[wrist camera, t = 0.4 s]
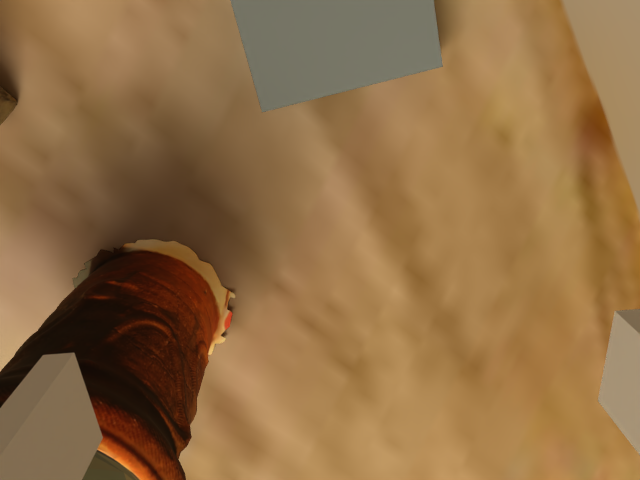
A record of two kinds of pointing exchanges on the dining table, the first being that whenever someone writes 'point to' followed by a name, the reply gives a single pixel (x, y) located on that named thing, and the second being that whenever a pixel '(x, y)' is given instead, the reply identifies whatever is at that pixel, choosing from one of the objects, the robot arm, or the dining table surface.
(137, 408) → the vessel
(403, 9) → the block
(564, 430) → the dining table surface
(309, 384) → the dining table surface
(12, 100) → the rock
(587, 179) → the dining table surface
